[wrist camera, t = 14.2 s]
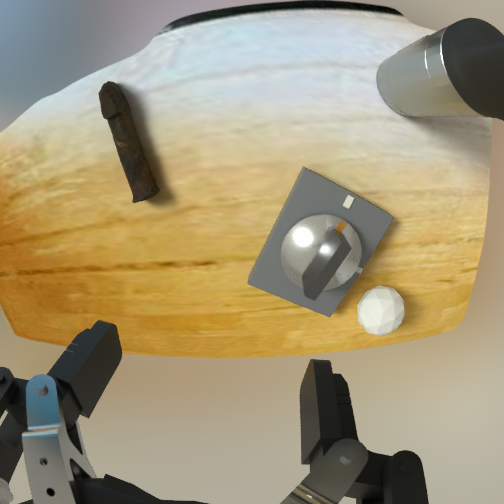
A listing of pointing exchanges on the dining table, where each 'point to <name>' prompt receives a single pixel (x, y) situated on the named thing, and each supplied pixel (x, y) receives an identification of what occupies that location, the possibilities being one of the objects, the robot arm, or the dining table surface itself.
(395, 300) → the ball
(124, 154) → the hand tool
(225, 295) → the dining table surface
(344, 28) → the dining table surface
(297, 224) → the dial knob
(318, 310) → the dial panel
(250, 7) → the dining table surface
